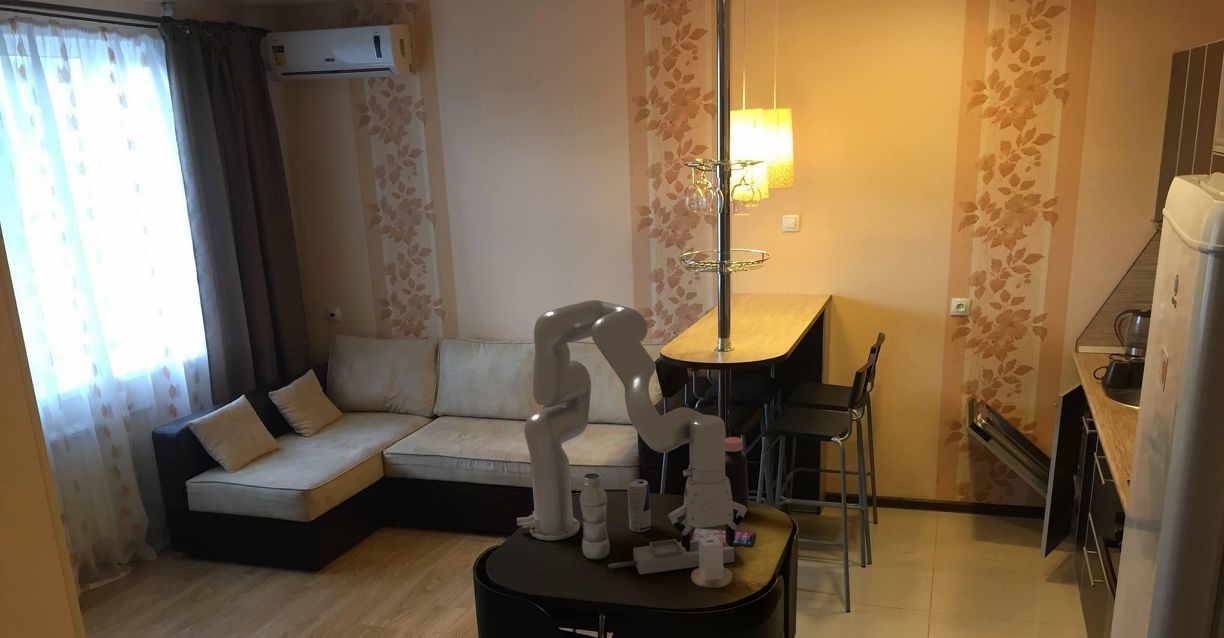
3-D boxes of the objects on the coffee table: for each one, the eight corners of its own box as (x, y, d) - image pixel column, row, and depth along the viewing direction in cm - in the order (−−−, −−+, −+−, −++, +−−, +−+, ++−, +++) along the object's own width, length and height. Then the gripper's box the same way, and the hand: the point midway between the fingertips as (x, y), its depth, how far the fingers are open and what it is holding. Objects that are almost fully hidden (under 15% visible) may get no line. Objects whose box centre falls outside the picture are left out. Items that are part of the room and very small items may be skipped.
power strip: (611, 578, 186) (610, 560, 185) (606, 564, 192) (605, 547, 192) (734, 561, 191) (733, 544, 190) (725, 548, 197) (725, 532, 196)
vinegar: (727, 507, 220) (725, 434, 216) (752, 511, 216) (750, 437, 212) (717, 517, 214) (714, 442, 210) (742, 521, 211) (740, 446, 207)
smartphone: (694, 527, 208) (755, 531, 204) (694, 530, 208) (755, 535, 204) (688, 540, 201) (751, 545, 197) (689, 544, 201) (752, 549, 197)
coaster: (697, 590, 179) (697, 588, 179) (686, 570, 188) (686, 568, 187) (737, 584, 180) (737, 582, 180) (725, 565, 189) (725, 563, 189)
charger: (705, 581, 181) (703, 546, 180) (699, 572, 185) (698, 538, 184) (723, 578, 182) (722, 543, 181) (717, 569, 186) (716, 535, 185)
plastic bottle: (596, 547, 201) (591, 468, 197) (616, 555, 196) (611, 475, 193) (576, 557, 197) (571, 476, 193) (596, 566, 192) (591, 483, 188)
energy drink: (654, 525, 211) (652, 481, 209) (644, 534, 207) (641, 488, 204) (636, 522, 214) (634, 477, 212) (625, 530, 209) (623, 485, 207)
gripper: (672, 483, 174) (673, 559, 178) (751, 475, 177) (751, 550, 181) (664, 470, 182) (665, 543, 185) (740, 462, 184) (740, 534, 188)
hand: (708, 546), depth 183 cm, fingers open, 9 cm apart
